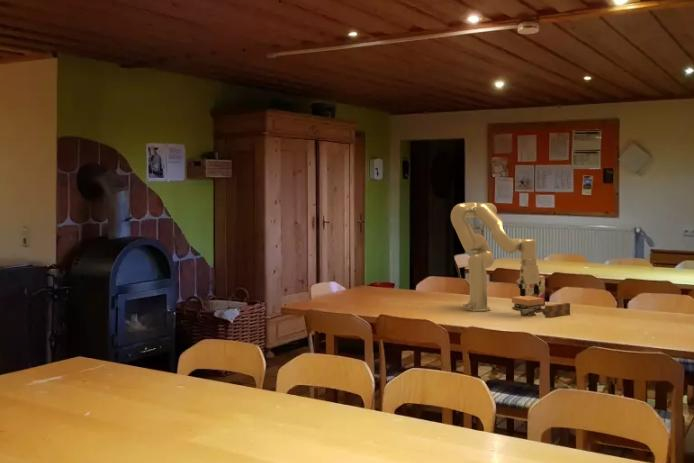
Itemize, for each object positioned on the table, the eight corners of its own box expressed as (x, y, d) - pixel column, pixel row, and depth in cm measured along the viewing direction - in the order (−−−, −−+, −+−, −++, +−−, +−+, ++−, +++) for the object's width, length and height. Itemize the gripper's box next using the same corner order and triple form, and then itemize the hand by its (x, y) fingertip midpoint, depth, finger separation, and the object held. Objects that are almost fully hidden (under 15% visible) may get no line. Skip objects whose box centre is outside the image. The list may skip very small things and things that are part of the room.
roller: (525, 315, 373) (524, 308, 374) (521, 316, 376) (519, 310, 377) (535, 314, 377) (534, 307, 378) (531, 315, 380) (529, 308, 381)
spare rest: (528, 316, 373) (528, 315, 373) (520, 314, 378) (520, 313, 378) (536, 315, 375) (536, 314, 375) (527, 313, 381) (527, 312, 381)
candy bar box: (525, 305, 405) (525, 276, 404) (524, 304, 410) (524, 275, 409) (545, 305, 404) (545, 276, 403) (543, 304, 409) (544, 275, 408)
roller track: (545, 315, 374) (545, 309, 374) (512, 308, 396) (512, 302, 396) (558, 313, 379) (558, 307, 379) (524, 306, 401) (524, 300, 401)
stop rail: (547, 317, 369) (547, 306, 368) (545, 317, 370) (545, 305, 370) (570, 314, 376) (570, 303, 376) (567, 313, 378) (567, 302, 378)
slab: (528, 306, 384) (528, 300, 384) (511, 302, 395) (511, 297, 395) (543, 303, 389) (543, 298, 389) (526, 300, 401) (526, 295, 400)
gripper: (521, 264, 367) (522, 297, 368) (546, 261, 376) (547, 294, 376) (511, 263, 374) (512, 296, 374) (535, 260, 382) (536, 292, 383)
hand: (529, 295), depth 375 cm, fingers open, 9 cm apart
